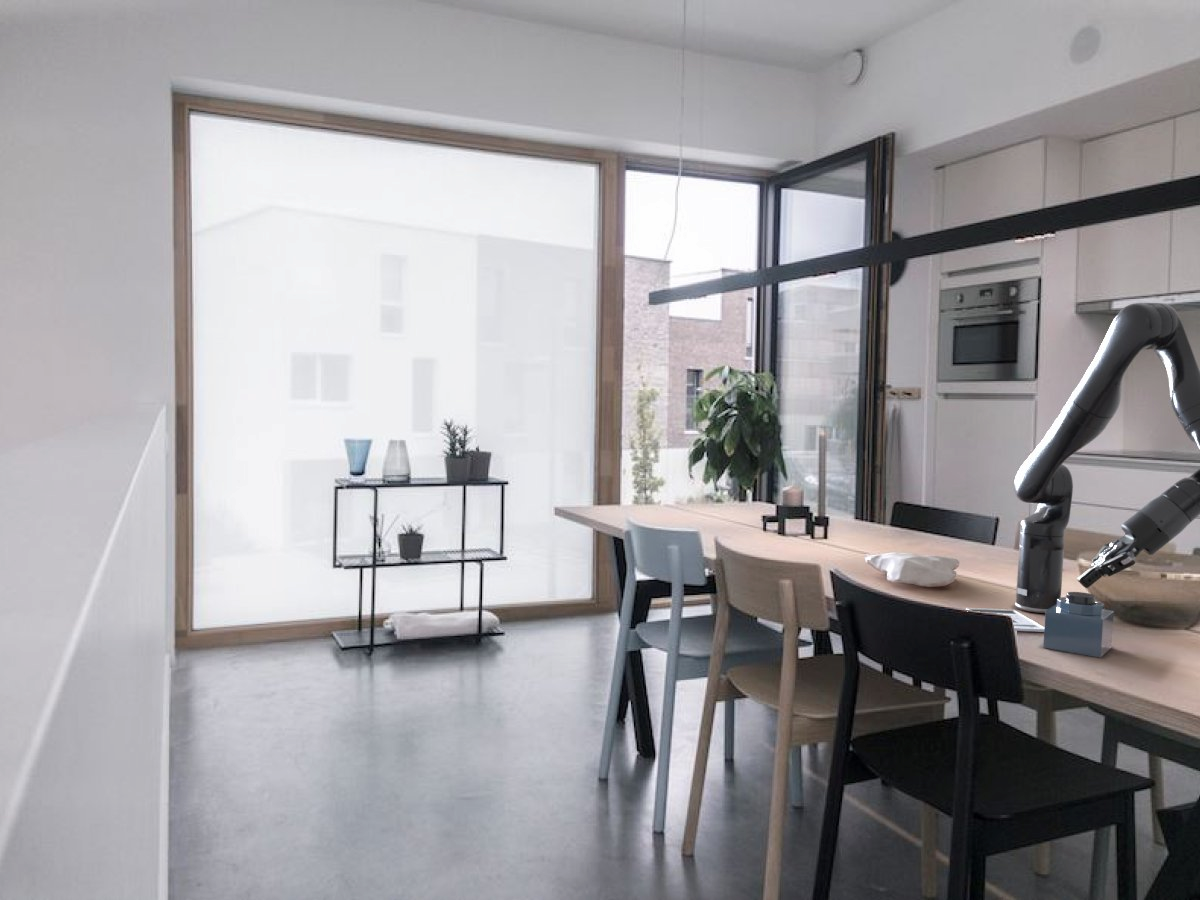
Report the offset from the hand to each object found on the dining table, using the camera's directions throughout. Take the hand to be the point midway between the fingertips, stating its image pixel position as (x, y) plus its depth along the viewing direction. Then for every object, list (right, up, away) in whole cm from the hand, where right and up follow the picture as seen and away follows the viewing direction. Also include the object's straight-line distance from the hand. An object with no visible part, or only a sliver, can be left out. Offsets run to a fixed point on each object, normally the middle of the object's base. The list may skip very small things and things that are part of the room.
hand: (1081, 583), depth 190 cm
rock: (-11, -8, +67) cm, 68 cm away
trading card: (-6, -11, +21) cm, 25 cm away
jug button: (0, -4, 0) cm, 4 cm away
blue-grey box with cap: (0, -12, +1) cm, 12 cm away
